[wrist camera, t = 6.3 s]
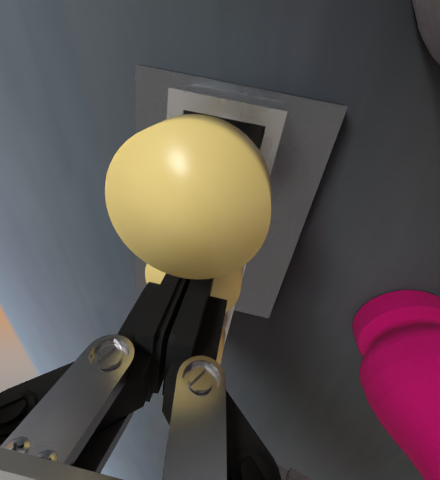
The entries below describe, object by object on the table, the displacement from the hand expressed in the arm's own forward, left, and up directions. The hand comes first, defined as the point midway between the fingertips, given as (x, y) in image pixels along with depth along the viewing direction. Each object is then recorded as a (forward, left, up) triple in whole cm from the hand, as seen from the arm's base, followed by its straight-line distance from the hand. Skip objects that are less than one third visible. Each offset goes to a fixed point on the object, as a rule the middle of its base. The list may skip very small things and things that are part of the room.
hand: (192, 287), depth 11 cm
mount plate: (0, 0, -7) cm, 7 cm away
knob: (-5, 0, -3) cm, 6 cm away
